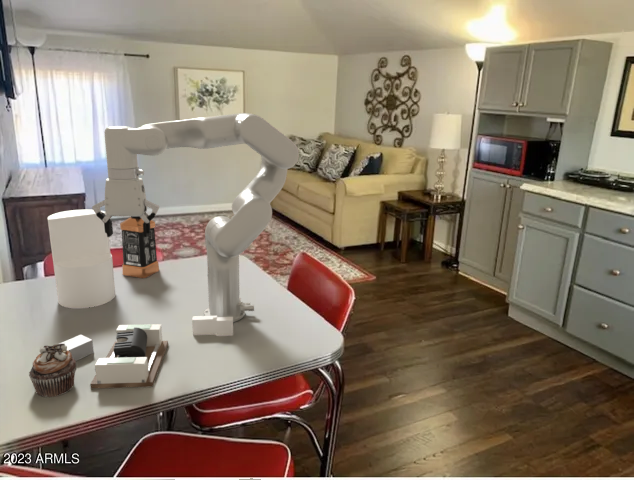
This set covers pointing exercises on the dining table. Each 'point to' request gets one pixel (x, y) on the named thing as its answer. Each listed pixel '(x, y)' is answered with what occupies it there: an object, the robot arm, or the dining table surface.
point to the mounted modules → (128, 359)
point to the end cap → (131, 344)
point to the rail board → (152, 372)
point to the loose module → (79, 346)
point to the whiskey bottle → (138, 249)
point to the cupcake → (53, 371)
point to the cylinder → (81, 259)
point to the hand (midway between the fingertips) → (128, 235)
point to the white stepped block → (212, 325)
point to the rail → (149, 361)
